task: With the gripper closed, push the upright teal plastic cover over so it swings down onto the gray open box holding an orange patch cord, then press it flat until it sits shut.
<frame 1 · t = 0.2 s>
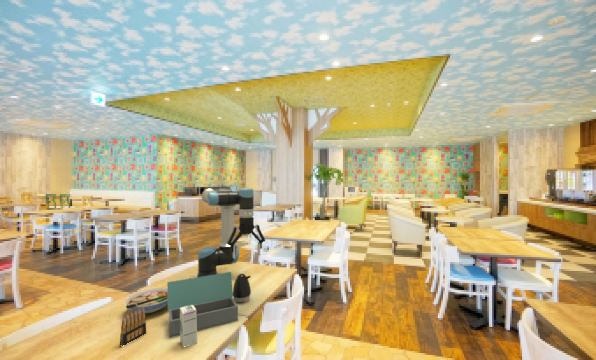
hand: (246, 256, 144), 28 cm above the table, tool pointing down, fingers open, 13 cm apart
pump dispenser: (242, 300, 153), on the table
gray open box: (203, 322, 129), on the table
ammunition clip: (133, 340, 116), on the table
syrup box: (188, 342, 113), on the table
ramen bowl: (150, 310, 142), on the table
duct cover: (201, 289, 137), point 13 cm above the table, hinge at 105.0°
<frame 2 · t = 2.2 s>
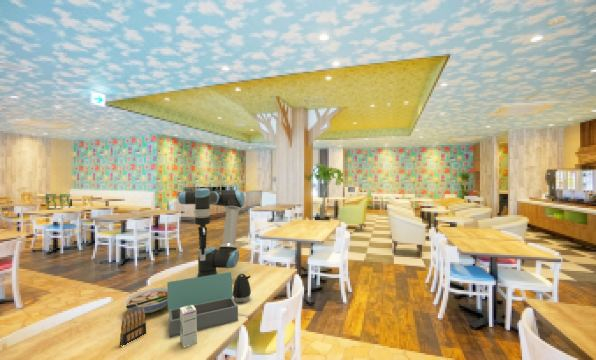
hand: (202, 260, 145), 26 cm above the table, tool pointing down, fingers closed
nothing on the table moved.
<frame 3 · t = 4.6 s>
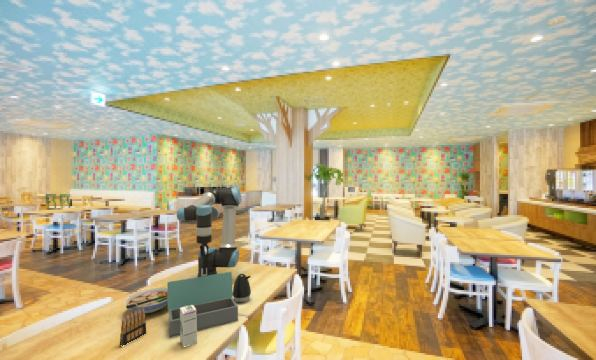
hand: (204, 279, 140), 17 cm above the table, tool pointing down, fingers closed
duct cover: (201, 289, 136), point 13 cm above the table, hinge at 103.3°, touching gripper
everything else where it was.
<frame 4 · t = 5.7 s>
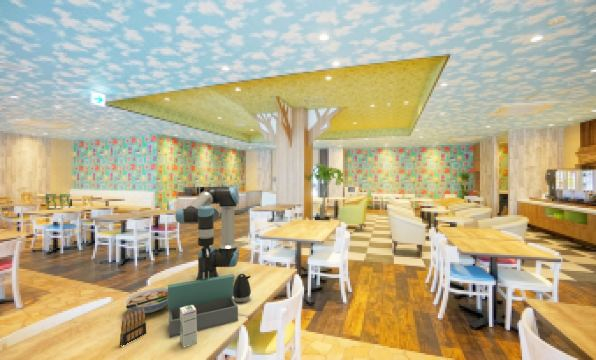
hand: (205, 283, 135), 17 cm above the table, tool pointing down, fingers closed
duct cover: (202, 291, 134), point 13 cm above the table, hinge at 73.7°, touching gripper
everything else where it was.
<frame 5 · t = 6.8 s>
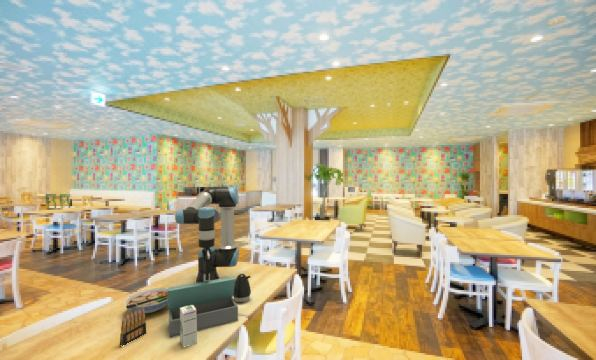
hand: (206, 285, 133), 16 cm above the table, tool pointing down, fingers closed
duct cover: (202, 292, 133), point 13 cm above the table, hinge at 63.3°, touching gripper
everything else where it was.
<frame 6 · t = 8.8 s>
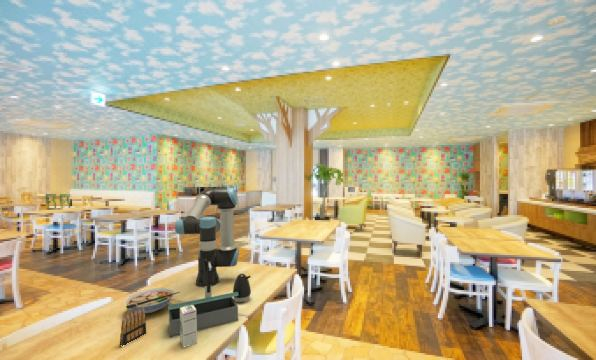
hand: (208, 298, 129), 12 cm above the table, tool pointing down, fingers closed
duct cover: (203, 300, 130), point 10 cm above the table, hinge at 23.4°, touching gripper
everything else where it was.
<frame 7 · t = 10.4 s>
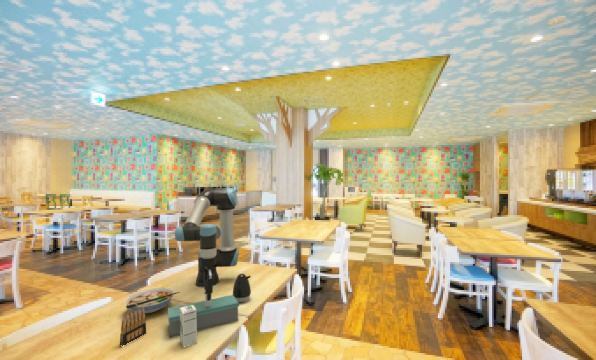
hand: (208, 306, 128), 8 cm above the table, tool pointing down, fingers closed
duct cover: (203, 306, 129), point 8 cm above the table, hinge at 0.0°, touching gray open box, gripper
everything else where it was.
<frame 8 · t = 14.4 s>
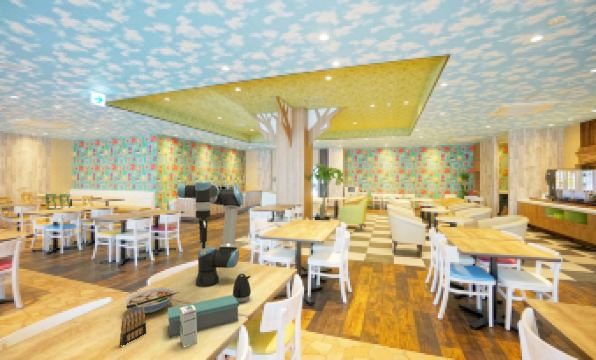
hand: (203, 253, 143), 29 cm above the table, tool pointing down, fingers closed
duct cover: (203, 306, 129), point 8 cm above the table, hinge at 0.0°, touching gray open box
everything else where it was.
at the end: duct cover at +0° (first picture: +105°) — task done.
